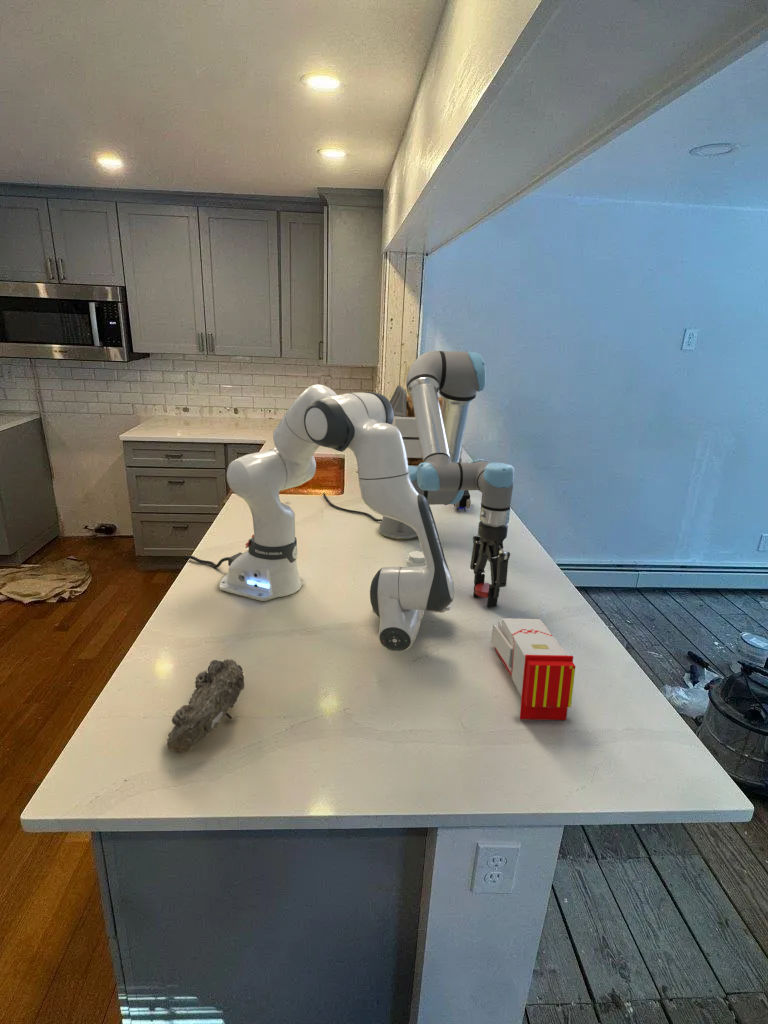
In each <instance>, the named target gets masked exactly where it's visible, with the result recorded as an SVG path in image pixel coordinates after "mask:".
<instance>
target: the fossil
mask: <svg viewBox="0 0 768 1024" xmlns="http://www.w3.org/2000/svg"><path fill="white" fill-rule="evenodd" d="M243 670H244V669H243V667H242V665H240V664H237V662H236V661H235V660H234V659H232V658H231V659H227V658H226V659H224V660H223V661H222V660H217V659H212V660H211V661H210V663H209V665H208V666H207V671H201V672H199V673H198V674H197V675H196V676H195V680H194V684H195V685H194V687H195V689H194V690H193V693H192V694H191V697H190V698H189V700H188V704H184V705H182V706H181V707H180V709H177V710H176V711H175V713H174V715H173V716H172V718H171V723H172V724H173V727H172V730H171V731H170V732H168V734H167V738H166V741H167V742H166V745H167V749H168V750H169V751H173V752H174V753H176V754H178V753H182V752H188V751H189V752H192V751H193V750H195V748H196V747H197V746H199V744H200V743H201V742H203V741H204V740H205V739H206V738H207V737H208V736H209V735H210V734H211V733H212V732H214V730H215V729H217V727H218V726H219V724H220V722H221V721H222V720H223V719H224V718H225V716H226V717H227V719H229V720H233V717H232V715H230V714H229V710H230V709H231V708H234V706H235V704H236V703H237V702H238V699H239V697H240V695H241V693H242V691H243V690H245V689H244V688H245V675H244V671H243Z"/></svg>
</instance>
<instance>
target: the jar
mask: <svg viewBox="0 0 768 1024" xmlns="http://www.w3.org/2000/svg"><path fill="white" fill-rule="evenodd" d="M405 562H406V563H405V567H421V566H426V562H425V558H424V555H423V551H420V550H413V551H410V552H409V553H408V555H407V557H406V561H405Z"/></svg>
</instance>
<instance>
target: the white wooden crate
mask: <svg viewBox="0 0 768 1024" xmlns="http://www.w3.org/2000/svg"><path fill="white" fill-rule="evenodd" d="M438 400H439V405H440V410H441V408H442V402H443V398H442V397H441V396H438ZM389 402H390V403H391V405H392V408H393V414H394V417H393V423H392V425H393V426H395V427H397V428H398V429H399V431H400V433H401V436H402V439H403V442H404V446H405V450H406V455H407V460H408V466H411V467H412V466H416V467H418V465H419V464H420V463H423V459H422V453H421V447H420V442H419V436H418V430H417V425H416V419H415V413H414V408H413V402H412V398H411V397H409V395H408V393H407V389H404V388H403V387H402V385H399V384H398V385H397V386H396V388H395V390H394V392H393V394H392V395H391V398H390V400H389ZM463 442H464V441H463ZM463 442H462V444H463ZM462 453H463V446H462V447H461V453H460V458H459V463H463V460H462Z"/></svg>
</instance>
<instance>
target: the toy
mask: <svg viewBox="0 0 768 1024" xmlns="http://www.w3.org/2000/svg"><path fill="white" fill-rule="evenodd" d="M490 638H491V639H490V642H491V644H492V646H493V647H494V650H495V652H496V654H497V655H498V657H499V659H500V660H501V662H502V664H503V666H504V667H505V669H506V671H507V672H508V674H509V676H510V677H511V679H512V681H513V683H514V685H515V688H516V690H517V691H518V693H519V695H520V697H521V698H520V710H519V719H520V720H534V721H535V720H539V721H567V716H568V708H572V701H573V692H574V684H575V674H576V673H575V672H576V665H575V663H574V656H573V655H568V654H567V653H566V652H565V650H564V649H563V648H562V646H561V645H560V644H559V643H558V641H557V640H556V639H555V637H554V636H553V634H552V633H551V632H550V631H549V629H548V628H547V626H546V624H545V623H543V621H542V620H541V619H540V618H505V617H503V618H501V620H498V622H497V624H495V623H493V624H492V632H491V637H490Z"/></svg>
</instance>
